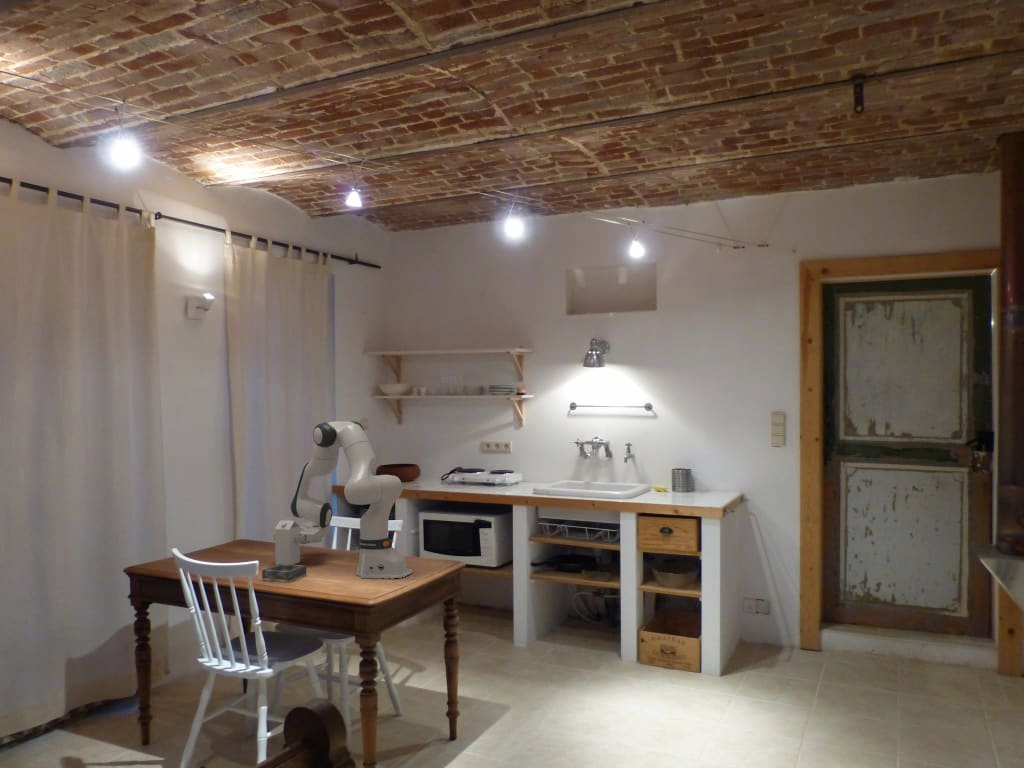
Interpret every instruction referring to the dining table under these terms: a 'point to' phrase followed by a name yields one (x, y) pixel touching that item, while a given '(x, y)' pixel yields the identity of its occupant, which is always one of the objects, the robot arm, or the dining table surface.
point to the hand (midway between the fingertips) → (286, 539)
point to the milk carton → (287, 542)
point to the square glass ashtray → (284, 572)
